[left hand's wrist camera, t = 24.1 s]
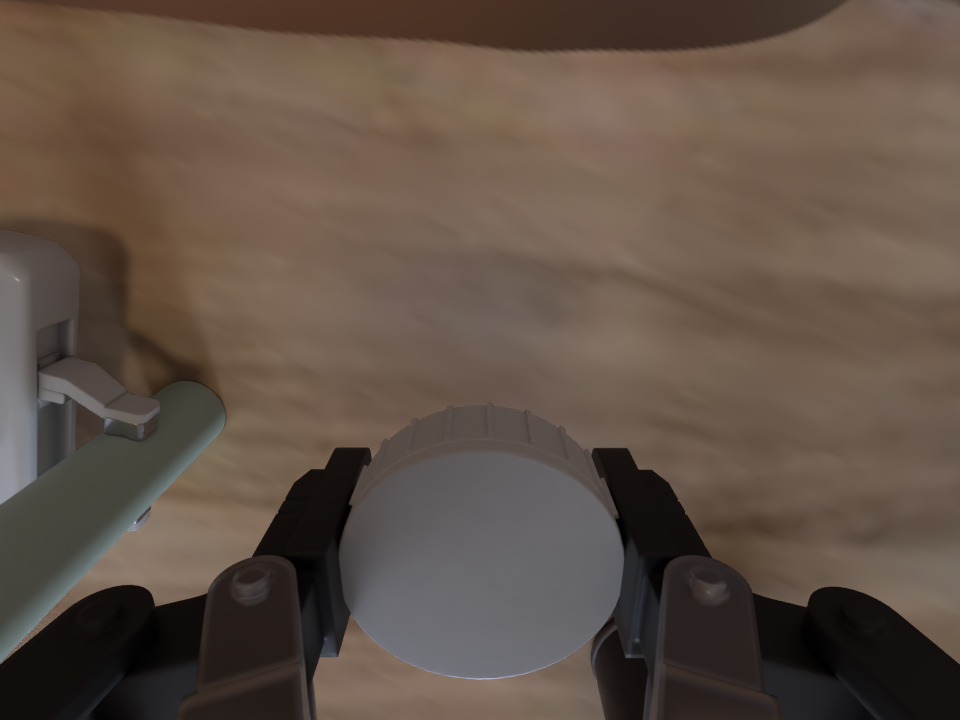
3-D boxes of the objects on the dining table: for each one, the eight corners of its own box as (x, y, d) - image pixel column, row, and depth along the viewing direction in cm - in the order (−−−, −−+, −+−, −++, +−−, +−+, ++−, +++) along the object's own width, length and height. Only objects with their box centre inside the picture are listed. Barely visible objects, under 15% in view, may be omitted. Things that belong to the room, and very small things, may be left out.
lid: (309, 452, 10) (277, 505, 9) (563, 363, 10) (579, 403, 8) (414, 637, 12) (405, 709, 11) (637, 572, 11) (662, 639, 10)
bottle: (222, 448, 34) (-43, 744, 17) (154, 432, 33) (-190, 720, 16) (229, 389, 32) (-53, 647, 15) (158, 372, 32) (-214, 617, 15)
